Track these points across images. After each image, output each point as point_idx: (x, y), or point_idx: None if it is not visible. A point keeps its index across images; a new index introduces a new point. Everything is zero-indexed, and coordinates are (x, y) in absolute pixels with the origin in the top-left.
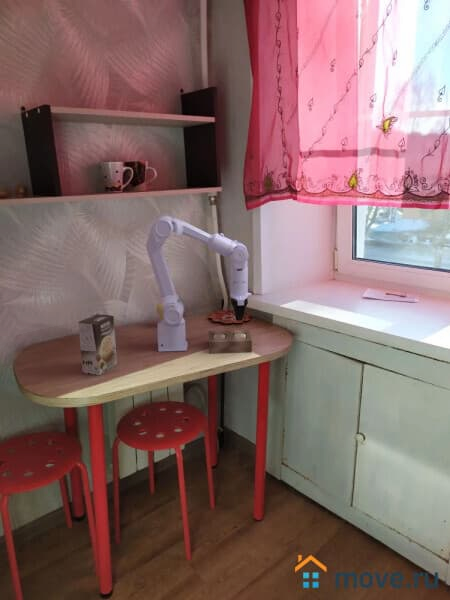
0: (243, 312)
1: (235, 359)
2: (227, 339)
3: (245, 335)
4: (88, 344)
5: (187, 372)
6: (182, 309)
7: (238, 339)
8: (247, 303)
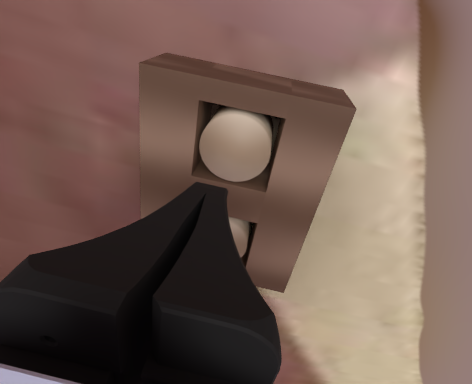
0: (230, 235)
1: (389, 189)
2: (276, 223)
3: (247, 119)
4: None
5: (410, 337)
6: None
7: (298, 176)
8: (269, 321)
